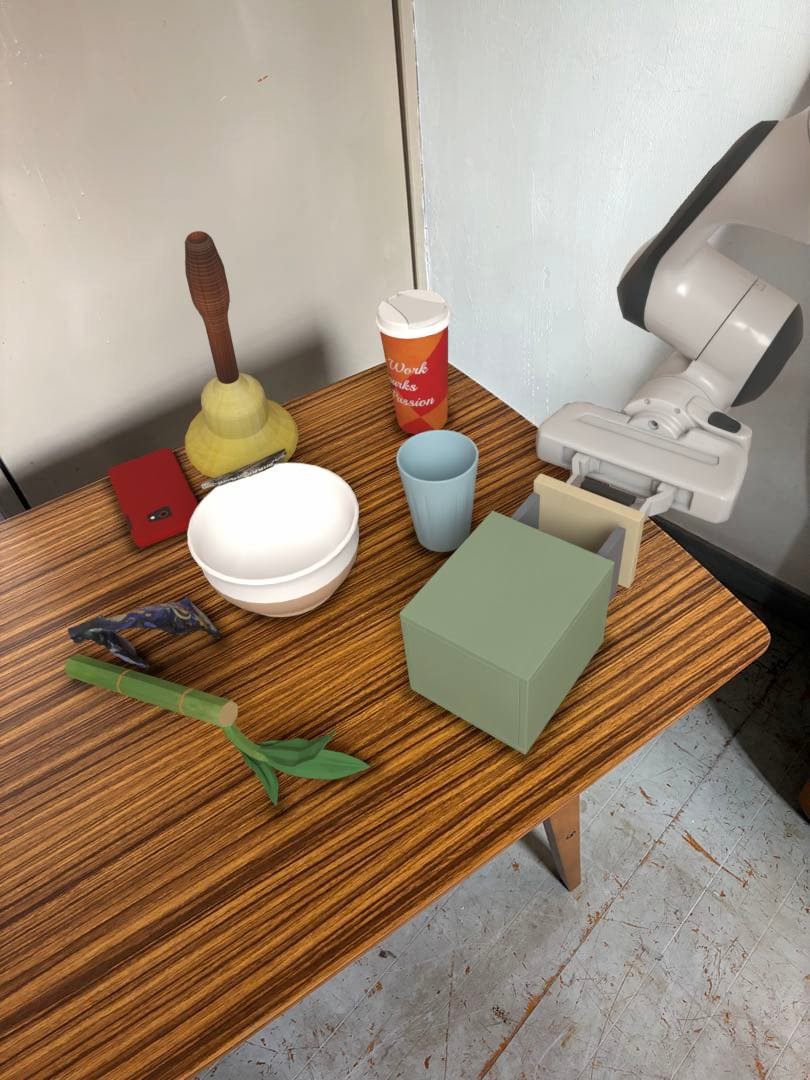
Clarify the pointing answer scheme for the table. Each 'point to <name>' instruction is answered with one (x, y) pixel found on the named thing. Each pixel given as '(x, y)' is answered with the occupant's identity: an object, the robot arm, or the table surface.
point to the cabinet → (507, 628)
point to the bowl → (277, 538)
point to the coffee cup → (416, 357)
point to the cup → (439, 486)
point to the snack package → (160, 616)
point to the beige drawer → (588, 521)
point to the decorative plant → (221, 724)
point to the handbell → (228, 382)
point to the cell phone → (153, 496)
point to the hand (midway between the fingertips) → (602, 505)
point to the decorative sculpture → (246, 470)
